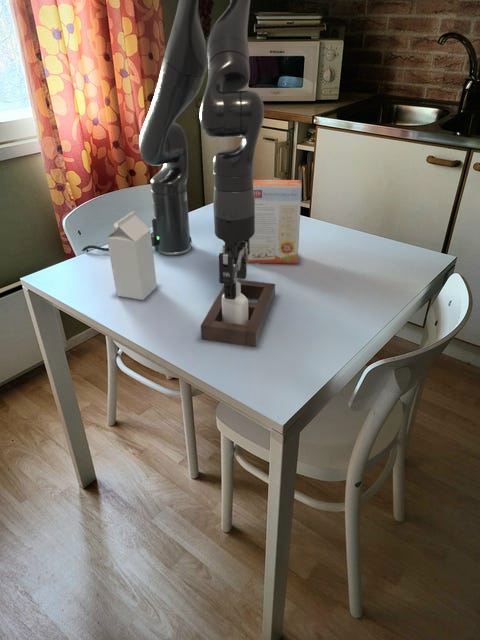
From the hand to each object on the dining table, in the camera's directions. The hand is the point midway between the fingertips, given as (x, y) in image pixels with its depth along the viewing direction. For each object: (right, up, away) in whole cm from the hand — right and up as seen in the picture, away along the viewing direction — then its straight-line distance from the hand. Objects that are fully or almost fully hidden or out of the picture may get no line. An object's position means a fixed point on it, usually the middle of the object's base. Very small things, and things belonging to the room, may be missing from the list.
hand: (235, 288), depth 97 cm
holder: (+1, -6, +9) cm, 11 cm away
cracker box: (+9, +10, +33) cm, 36 cm away
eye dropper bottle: (0, -8, +5) cm, 10 cm away
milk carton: (-24, 0, +19) cm, 31 cm away
